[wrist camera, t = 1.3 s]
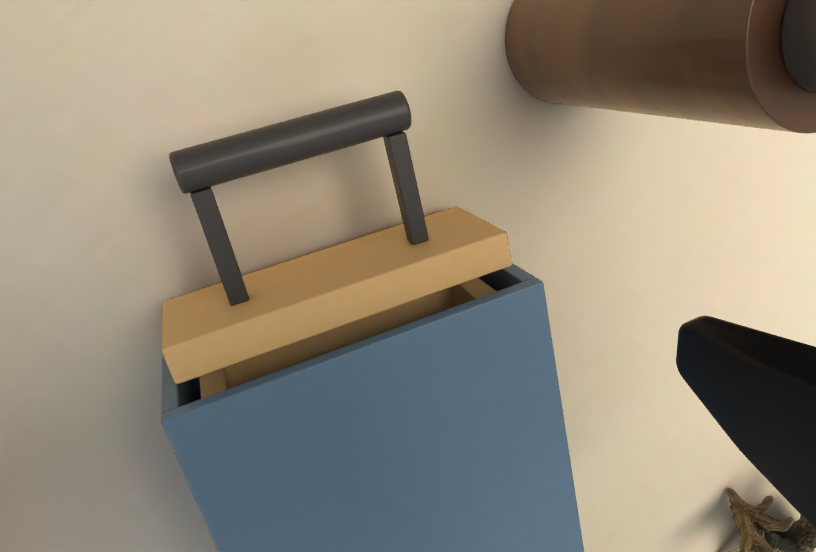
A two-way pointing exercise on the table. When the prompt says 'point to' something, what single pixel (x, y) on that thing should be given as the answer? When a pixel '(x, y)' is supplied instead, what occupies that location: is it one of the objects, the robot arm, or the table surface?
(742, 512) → the eagle figurine
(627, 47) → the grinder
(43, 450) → the table surface
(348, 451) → the cabinet
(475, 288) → the drawer
